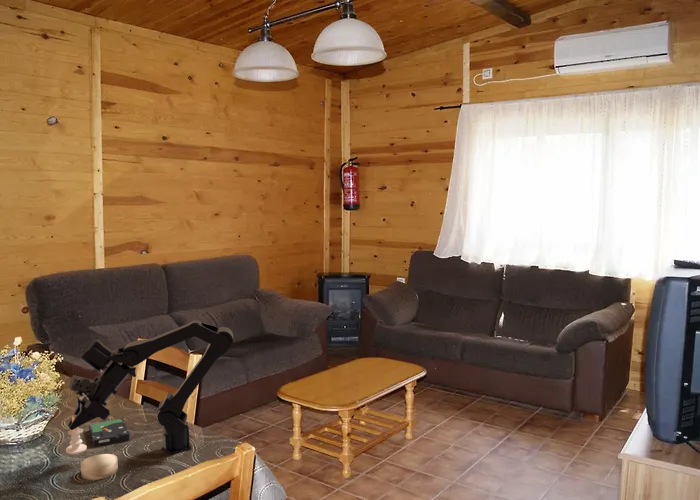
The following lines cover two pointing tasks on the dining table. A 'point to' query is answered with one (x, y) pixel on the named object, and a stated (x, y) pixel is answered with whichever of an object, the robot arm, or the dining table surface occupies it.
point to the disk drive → (109, 432)
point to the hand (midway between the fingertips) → (69, 427)
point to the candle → (75, 441)
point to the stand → (99, 466)
